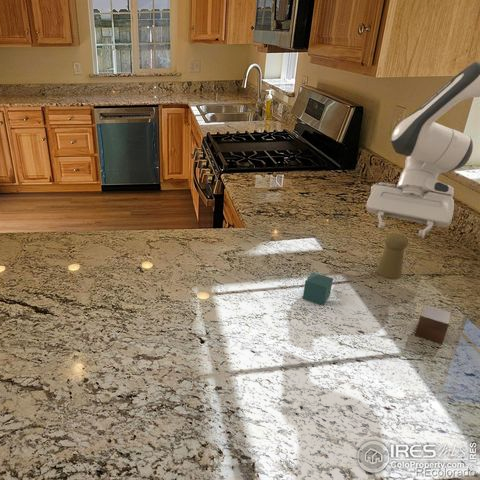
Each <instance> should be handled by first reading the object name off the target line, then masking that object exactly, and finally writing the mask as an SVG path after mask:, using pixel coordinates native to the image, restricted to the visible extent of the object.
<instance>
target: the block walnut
mask: <svg viewBox="0 0 480 480" xmlns="http://www.w3.org/2000/svg"><path fill="white" fill-rule="evenodd" d="M451 317H452V312H451V311H448V310H443V309H440V308H437V307H434V306H432V305H431V306H430V305H428V304H423V306H422V308H421V312H420V315H419V318H418V322H417V326H416V328H415V332H414V336H415V337H418V338H423V339H426V340H429V341H432V342H435V343H437V344H441V345H443V343H444V340H445V338H446V334H447V331H448V328H449V325H450V322H451Z"/></svg>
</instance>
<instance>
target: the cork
mask: <svg viewBox="0 0 480 480" xmlns="http://www.w3.org/2000/svg"><path fill="white" fill-rule="evenodd" d="M384 244H385V248H384V251H383V253H382V255H381V257H380V260H379V262H378V265H377V268H376V270H375V273H376V274H378V275H379V276H381V277H382V278H385V279H392V280H396V279H400V278H402V272H403V261H404V254H405V253H404V252H405V249H407V247H408V245H409V239H408V237H406V235H404V234H401V233H397V232H395V233H394V232H393V233H389V234H388V235H387V236H386V237H385V240H384Z"/></svg>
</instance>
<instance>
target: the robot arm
mask: <svg viewBox="0 0 480 480" xmlns="http://www.w3.org/2000/svg"><path fill="white" fill-rule="evenodd" d="M472 98H480V61H476V62H475V61H474V62H473V63H471V64H469V65H468V66H466V67H464V68H463V69H462V70H461V71H459V73H457V74H456V75H455V76H454V77H452V78H451V79H450V80H449V81H448V82H447V83H446V84H444V85H443V86H442V87H441V88H439V90H438V91H436V92H435V93H434V94H433V95H432V96H431V97H430V98H428V99H427V100H426V101H425V102H424V103H423V104H422V105H421V106H420V107H418V108H417V109H416V110H415V111H413V112H412V113H410V114H409V115H407V116H406V117H404V118H403V119H402V120H401V121H400V122H399V123H398V124H397V125H396V127H395V128H394V130H393V131H392V133H391V135H390V143H391V146H392V149H393V150H394V152H395V153H396V154H399V155H401V156H405V157H406V158H405V161H404V168H403V170H402V171H401V173H400V174H399V178H398V182H397V184H396V183H388V182H387V183H386V182H382V181H379V182H378V183H374V184H372V186H371V189H370V191H369V193H370V195H369V197H368V199H367V201H366V204H365V209H366V212H367V213H369V214H374V215H377V221H378V225H377V229H378V230H380V231H385V228H386V226H387V225H386V224H387V223H386V221H383V219H384V217H388V218H394V219H398V220H403V221H408V222H413V223H417V224H422V225H423V224H424V225H425V227H424V229H419V230H418V233H417V237H416V238H418V239H422V240H424V239H425V236H426V234H427V233H429V232H430V231H432V230H433V227H439V228H443V229H446V228H448V227H450V226H451V224H452V219H453V216H454V211H455V201H454V194H455V193H454V192H455V190H454V187H453V186H451V185H449V184H446V183H444V182H442V181H440V180H438V177H439V175H440V174H447V173H450V172H453V171H456V170H459V169H461V168H462V167H464V166H466V164H468V162H469V160H470V158H471V156H472V153H473V150H474V144H473V139H472V138H471V136H470V135H468V134H466V133H463V132H461V131H459V130H456V129H454V128H451V127H447V126H445V125H442V124H441V123H437V122H436V121H438V119H440V118H441V117H442V116H443V115H444V114H446V113H447V112H448V111H450V110H451V109H452V108H453V107H454V106H456V105H457V104H458V103H460V102H462V101H464V100H468V99H472Z"/></svg>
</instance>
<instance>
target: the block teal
mask: <svg viewBox="0 0 480 480" xmlns="http://www.w3.org/2000/svg"><path fill="white" fill-rule="evenodd" d="M333 282H334V278H333V277H330V276H326V275H323V274H320V273H316V272H311V273H310V275H309V276H308V277H307V278H306V279H305V281H304V288H303V294H302V300H305V301H309V302H312V303H315V304H317V305H320V306H325V304H326V303H327V301H328V299H329V298H330V297H331V291H332V287H333Z"/></svg>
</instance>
